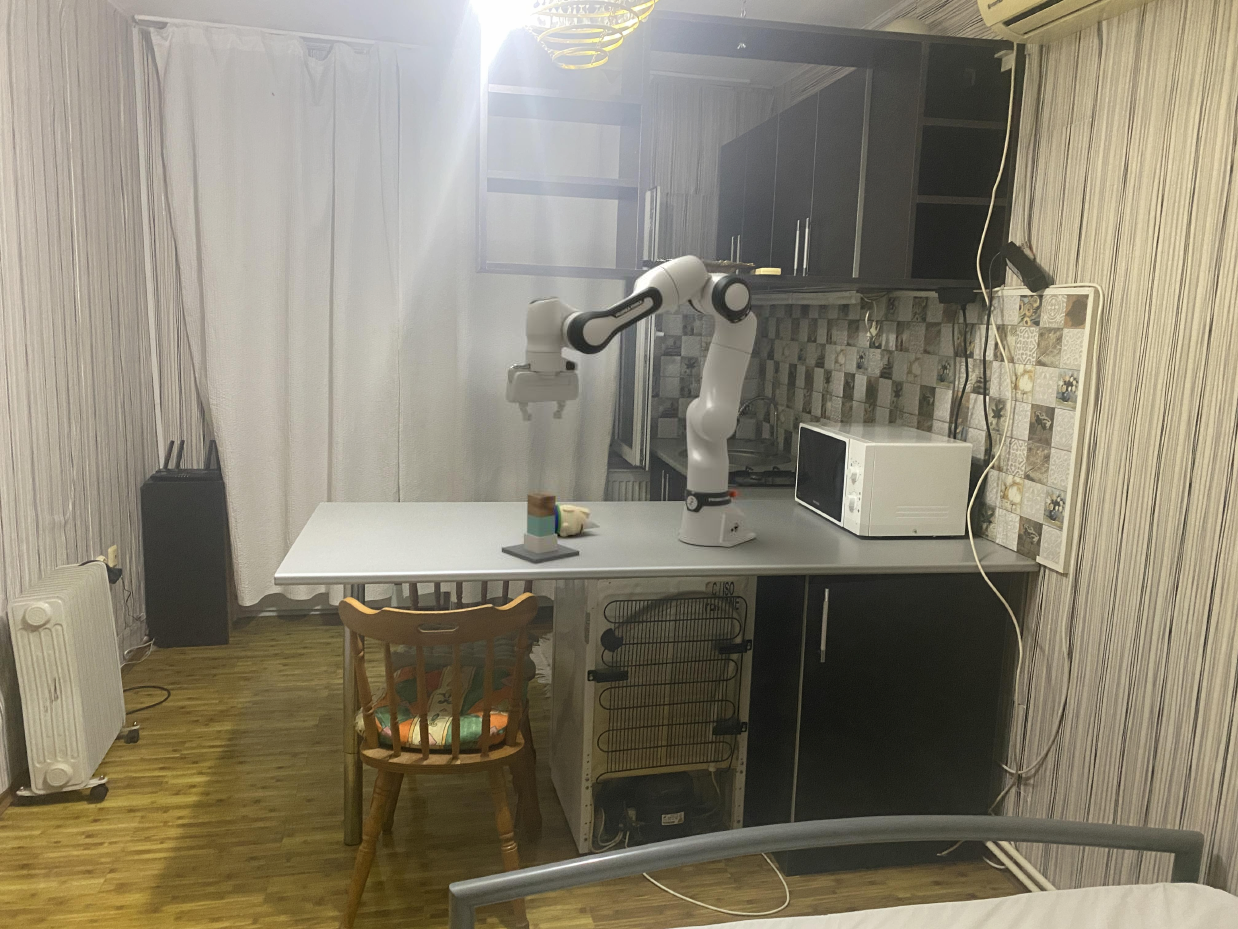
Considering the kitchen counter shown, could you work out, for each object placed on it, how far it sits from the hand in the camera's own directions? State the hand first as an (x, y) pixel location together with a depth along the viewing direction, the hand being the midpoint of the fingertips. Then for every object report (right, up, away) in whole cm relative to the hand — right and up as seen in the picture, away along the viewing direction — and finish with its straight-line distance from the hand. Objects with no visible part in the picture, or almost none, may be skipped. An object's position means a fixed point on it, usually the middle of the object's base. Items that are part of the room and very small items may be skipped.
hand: (542, 419), depth 228 cm
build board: (-1, -34, +6) cm, 34 cm away
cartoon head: (+4, -31, +26) cm, 40 cm away
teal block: (-1, -29, +5) cm, 29 cm away
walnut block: (-1, -24, +4) cm, 24 cm away
